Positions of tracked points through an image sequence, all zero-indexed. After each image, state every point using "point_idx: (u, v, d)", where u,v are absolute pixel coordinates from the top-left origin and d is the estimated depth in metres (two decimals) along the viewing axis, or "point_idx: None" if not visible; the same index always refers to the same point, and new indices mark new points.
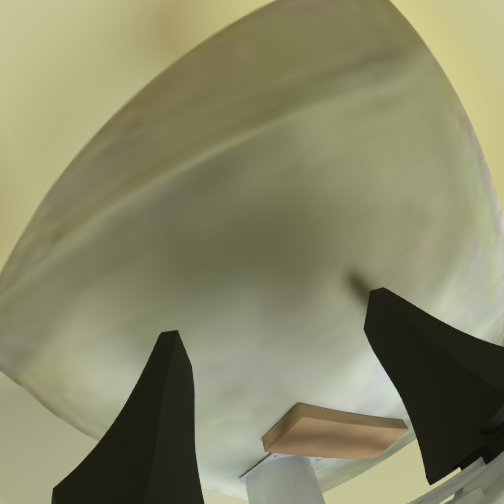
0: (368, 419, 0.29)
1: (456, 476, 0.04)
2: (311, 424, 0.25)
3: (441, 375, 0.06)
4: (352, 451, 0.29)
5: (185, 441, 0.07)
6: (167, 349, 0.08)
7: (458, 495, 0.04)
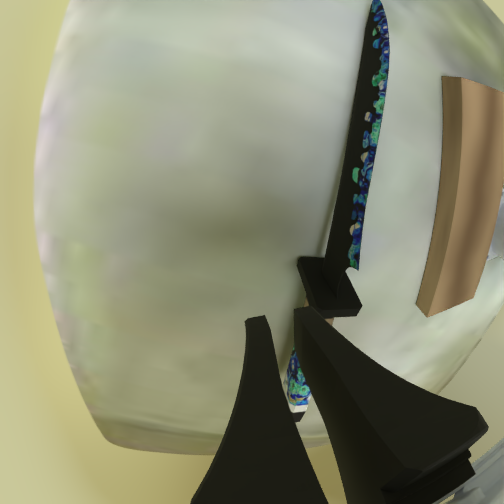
0: (444, 192, 0.18)
1: None
2: (439, 299, 0.21)
3: (348, 415, 0.06)
4: (495, 177, 0.16)
5: None
6: (264, 334, 0.09)
7: (458, 495, 0.04)
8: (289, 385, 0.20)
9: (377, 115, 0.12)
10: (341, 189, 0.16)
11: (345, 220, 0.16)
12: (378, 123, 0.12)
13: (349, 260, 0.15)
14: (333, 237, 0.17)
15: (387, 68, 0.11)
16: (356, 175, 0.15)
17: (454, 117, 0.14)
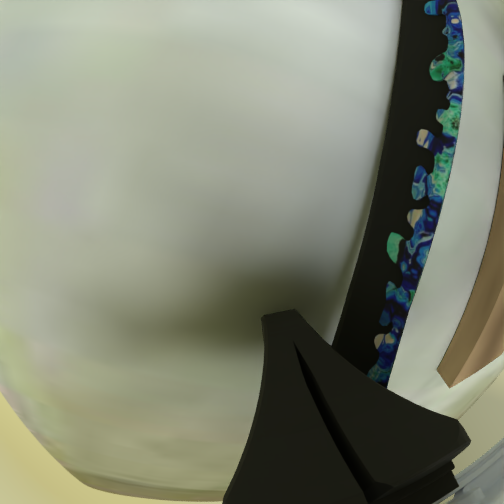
0: (496, 244, 0.11)
1: (456, 476, 0.04)
2: (467, 368, 0.15)
3: (325, 422, 0.06)
4: None
5: None
6: (283, 330, 0.09)
7: (458, 495, 0.04)
8: None
9: (445, 139, 0.06)
10: (363, 263, 0.09)
11: (368, 320, 0.09)
12: (448, 156, 0.06)
13: None
14: (343, 337, 0.10)
15: (462, 51, 0.04)
16: (395, 247, 0.08)
17: None
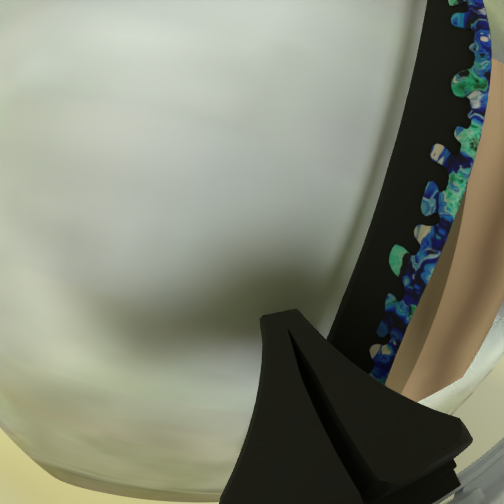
0: None
1: (456, 476, 0.04)
2: (409, 395, 0.14)
3: (328, 421, 0.06)
4: None
5: None
6: (281, 330, 0.09)
7: (458, 495, 0.04)
8: None
9: (462, 158, 0.06)
10: (362, 272, 0.09)
11: (364, 329, 0.09)
12: (464, 176, 0.06)
13: None
14: (336, 343, 0.10)
15: (489, 71, 0.04)
16: (398, 259, 0.08)
17: None
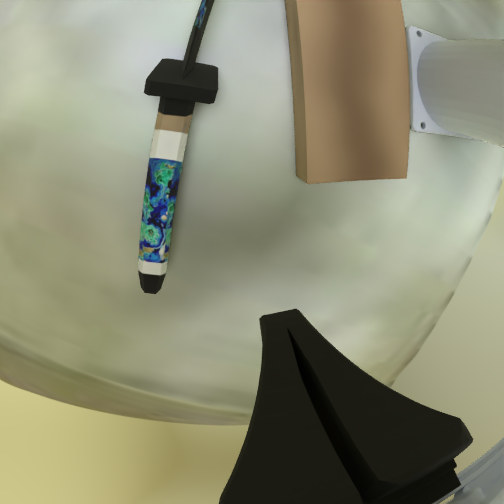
0: None
1: (456, 476, 0.04)
2: (322, 151, 0.15)
3: (328, 421, 0.06)
4: None
5: None
6: (280, 331, 0.09)
7: (458, 495, 0.04)
8: None
9: None
10: None
11: None
12: None
13: None
14: (194, 22, 0.10)
15: None
16: None
17: None
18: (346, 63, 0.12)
